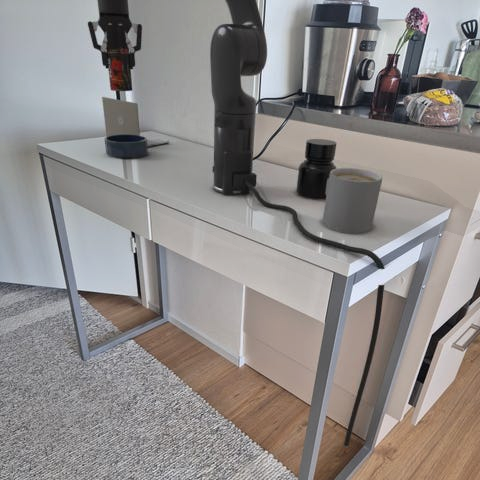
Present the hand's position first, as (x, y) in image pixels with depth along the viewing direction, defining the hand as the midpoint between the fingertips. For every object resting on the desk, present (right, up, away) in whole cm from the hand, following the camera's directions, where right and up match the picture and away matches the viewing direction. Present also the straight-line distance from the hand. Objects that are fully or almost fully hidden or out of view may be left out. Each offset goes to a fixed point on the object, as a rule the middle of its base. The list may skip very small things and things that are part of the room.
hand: (119, 68), depth 118 cm
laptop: (-2, -9, +28) cm, 30 cm away
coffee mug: (+56, -49, -28) cm, 79 cm away
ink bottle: (+51, -38, -13) cm, 65 cm away
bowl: (-1, -18, +13) cm, 23 cm away
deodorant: (0, -5, +3) cm, 5 cm away
